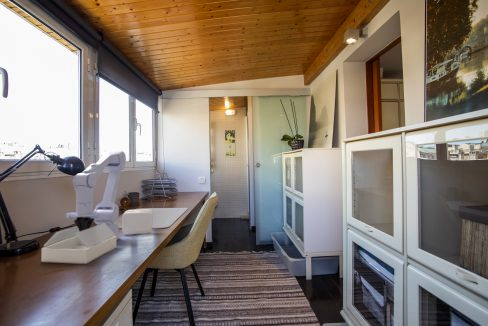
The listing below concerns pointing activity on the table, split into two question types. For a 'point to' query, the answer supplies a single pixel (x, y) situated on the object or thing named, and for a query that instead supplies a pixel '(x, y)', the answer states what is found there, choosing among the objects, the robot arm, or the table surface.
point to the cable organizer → (137, 221)
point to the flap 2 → (95, 235)
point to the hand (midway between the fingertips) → (84, 235)
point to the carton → (76, 251)
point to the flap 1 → (62, 235)
